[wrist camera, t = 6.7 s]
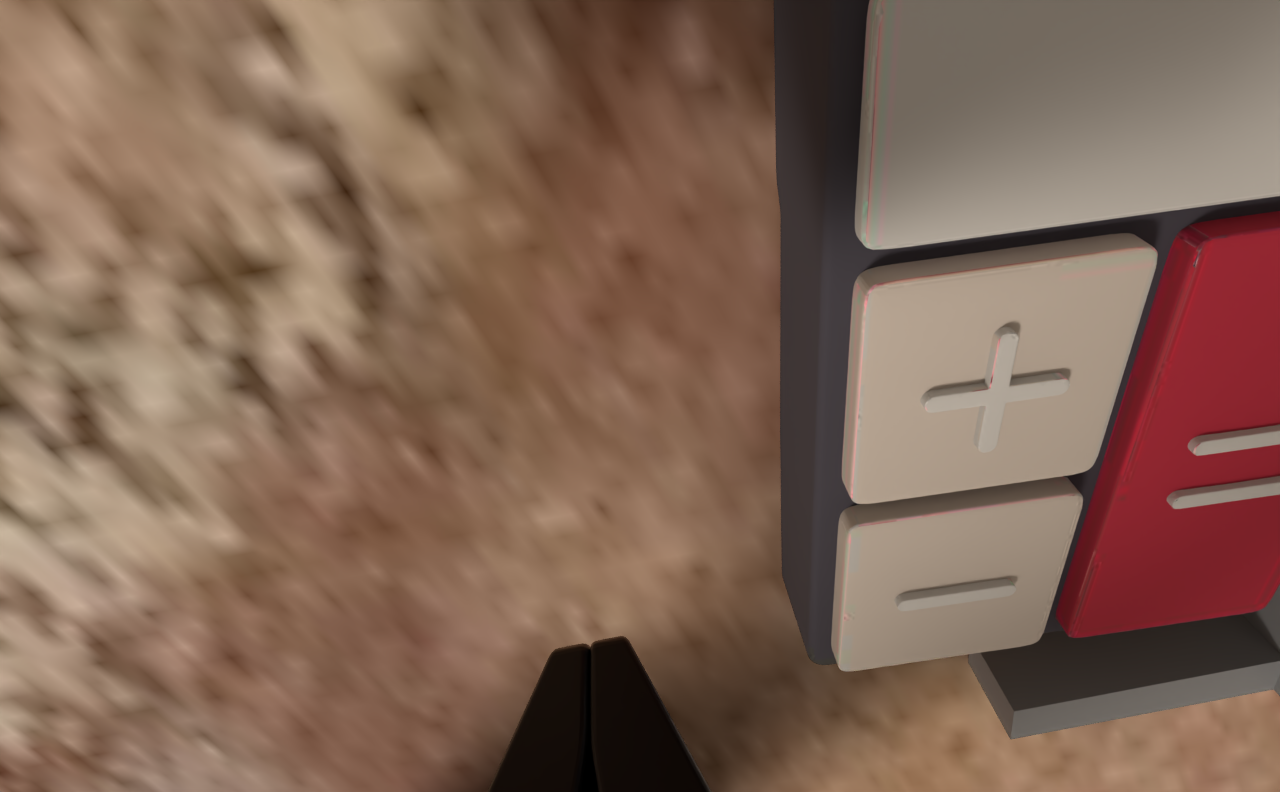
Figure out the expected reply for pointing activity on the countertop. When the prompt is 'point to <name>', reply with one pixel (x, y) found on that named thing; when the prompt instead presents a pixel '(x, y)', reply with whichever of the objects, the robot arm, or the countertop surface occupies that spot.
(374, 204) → the countertop surface
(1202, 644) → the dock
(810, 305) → the calculator
